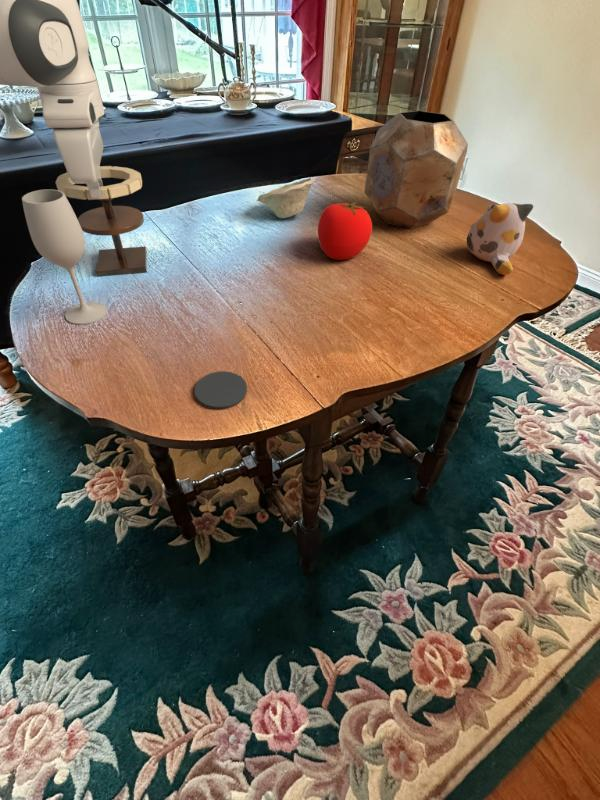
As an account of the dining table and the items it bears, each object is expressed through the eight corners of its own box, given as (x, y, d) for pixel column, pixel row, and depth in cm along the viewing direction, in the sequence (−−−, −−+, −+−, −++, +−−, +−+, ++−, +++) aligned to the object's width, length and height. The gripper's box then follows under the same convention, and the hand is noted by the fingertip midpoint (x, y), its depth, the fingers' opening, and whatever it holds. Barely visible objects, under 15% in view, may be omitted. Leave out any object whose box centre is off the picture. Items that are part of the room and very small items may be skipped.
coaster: (197, 413, 63) (196, 410, 63) (193, 377, 69) (192, 374, 69) (250, 405, 65) (250, 402, 65) (242, 371, 71) (242, 368, 70)
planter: (354, 202, 125) (366, 104, 108) (436, 203, 127) (461, 108, 110) (367, 235, 109) (383, 127, 93) (460, 236, 111) (493, 130, 94)
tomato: (304, 258, 99) (306, 207, 91) (329, 237, 108) (333, 188, 100) (353, 272, 95) (360, 220, 87) (375, 248, 104) (383, 199, 96)
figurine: (504, 234, 107) (536, 185, 93) (519, 292, 101) (556, 249, 87) (456, 235, 107) (481, 186, 93) (469, 293, 101) (498, 250, 87)
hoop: (53, 201, 76) (50, 191, 75) (65, 176, 87) (62, 167, 86) (141, 197, 80) (139, 188, 78) (142, 173, 90) (140, 165, 89)
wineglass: (83, 330, 77) (37, 209, 62) (55, 316, 79) (4, 198, 65) (116, 310, 82) (80, 194, 67) (89, 298, 84) (49, 184, 69)
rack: (90, 280, 89) (64, 204, 78) (94, 252, 98) (72, 181, 87) (153, 274, 92) (136, 200, 81) (152, 248, 100) (137, 178, 89)
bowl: (284, 201, 124) (284, 163, 117) (322, 215, 117) (325, 176, 110) (246, 215, 115) (244, 175, 108) (285, 231, 109) (286, 190, 102)
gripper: (59, 89, 75) (84, 175, 85) (40, 117, 61) (72, 216, 71) (98, 89, 76) (118, 173, 86) (88, 116, 62) (113, 213, 72)
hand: (97, 193), depth 78 cm, fingers closed on hoop, 2 cm apart
